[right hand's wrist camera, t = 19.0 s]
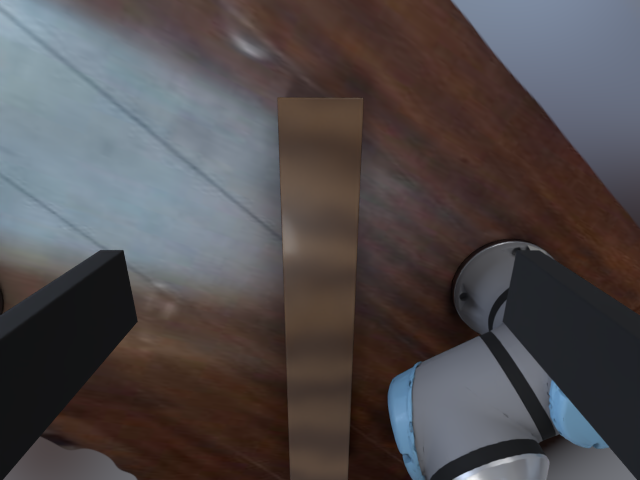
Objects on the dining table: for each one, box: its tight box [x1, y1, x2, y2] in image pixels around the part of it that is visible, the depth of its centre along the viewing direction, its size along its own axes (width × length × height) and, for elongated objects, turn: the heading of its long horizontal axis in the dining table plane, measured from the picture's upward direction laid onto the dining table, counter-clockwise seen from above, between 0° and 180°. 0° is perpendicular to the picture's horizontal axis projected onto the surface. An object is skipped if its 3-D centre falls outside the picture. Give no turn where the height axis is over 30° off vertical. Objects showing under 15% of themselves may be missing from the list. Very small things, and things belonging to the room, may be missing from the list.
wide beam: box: [277, 98, 363, 480], centre depth 53 cm, size 62×9×8 cm, turn 0°
